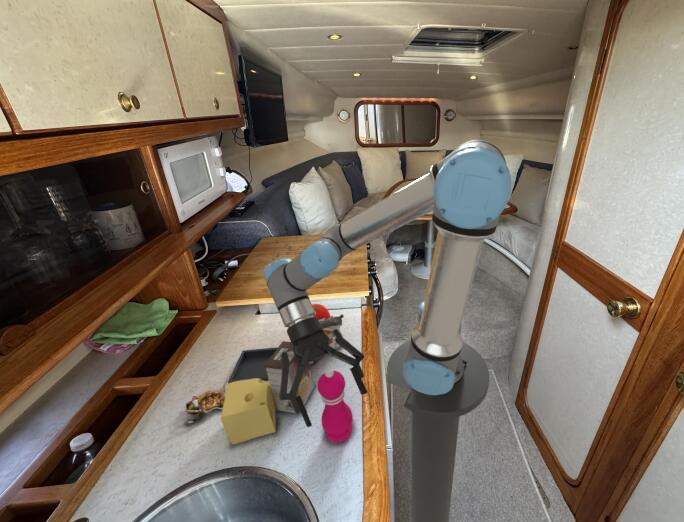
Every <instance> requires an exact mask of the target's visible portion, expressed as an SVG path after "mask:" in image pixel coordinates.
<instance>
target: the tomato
mask: <svg viewBox="0 0 684 522" xmlns="http://www.w3.org/2000/svg"><path fill="white" fill-rule="evenodd" d="M311 304H312V306H313V308H314V310H315V312H316V314H315V316H314V317H317V318H318V319H319V320H321V319H323V318H327V319H329V318H330V317H331V316H332V315H331V313H330V311H329V310H328V309H327V307H326V306H324V305H323V304H320V303H311Z"/></svg>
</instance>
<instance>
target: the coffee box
mask: <svg viewBox="0 0 684 522" xmlns="http://www.w3.org/2000/svg"><path fill="white" fill-rule="evenodd" d="M292 350H293V346H292V343H291V341H286V340H285V341H281V342H280V344H279V346H278V348H277V350H276V351H275V352H274V354H273V355H272V356H271V358H270V359H269V360H268V361H267V363H266V364H265V365H264V367H265V370H266V373H267V376H268V380H269V383H270V386H271V389H272V392H273V395H274V399H275V402H276V405H277V407H276V409H277V411H281V412H285V413H286V412H287V413H292V414H293V413H294V414H296V413H295V411H294V409H293V406H292V404H291V401H290V400H283V401H281V400H280V399H279V394H280V384H281V375H282V365H283V364H282V360H281V354H282V353H283V352H289V351H292ZM299 362H300V358H298V357H296V356H295V355H293V356H292V360H291V361H289V374H288V385H287V394H289V393H290V390H291V387H292V384H293V381H294V378H295V375H296V372H297V369H298V365H299ZM314 388H315V384H314V378H313V374H312V369H311V364H310V365H309V362H307V363H306V366H305V369H304V372H303V375H302V378H301V381H300V384H299V388H298V391H297V394H296V397H298V396H300V397H301V399H302V401H303V404H304V405H306V402H307V401H308V399H309V397H310V395H311V394H312V391H313V389H314Z"/></svg>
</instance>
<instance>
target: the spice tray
mask: <svg viewBox="0 0 684 522" xmlns="http://www.w3.org/2000/svg"><path fill="white" fill-rule="evenodd" d="M278 347H279V346H278ZM278 347H266V348H255V349H245V350H244V349H243V350H242V351H241V353H240V355H239V358H238V359H237V361H236V363H235V365H234V367H233V370H232V372H231V375H230V376H229V378H228V381H227V384H228V383H231V382H235V381H241V380H248V379H254V378H259V379H262V380H264V381H269V380H268V376H267V373H266V370H265V367H264V365H265V364H266V363H267V361H268V360H269V359H270V358H271V356H272V355H273V354H274V352H275V351H276V350H277V348H278Z"/></svg>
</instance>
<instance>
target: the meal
mask: <svg viewBox="0 0 684 522" xmlns="http://www.w3.org/2000/svg"><path fill="white" fill-rule="evenodd" d="M330 316H331V317H330V318H329V319H327V318H323V319H321V320H319V322H320V324H321V326H322V329H323V331H324V333H325V334H326V335H328V334H330V333H331V332H332V331H334V330H335V329H337V330H338V331H339V333H340V334H341V336H342V337H343V338H344V335H343V333H342V332H341V327H342V326H343V318H345V316H344V314H342V313H341V314H340V315H338V316H334V315H330ZM328 346H330V347H332V348H334V349H335V350H336V346H339V347H341V346H340V345H339V344H338V343H337V342H336V341H332V340H331V339H329V342H328ZM316 360H317V359H315V360H314V361H312V362H309V365H310V366H311V364H314V363H315V362H316Z"/></svg>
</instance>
